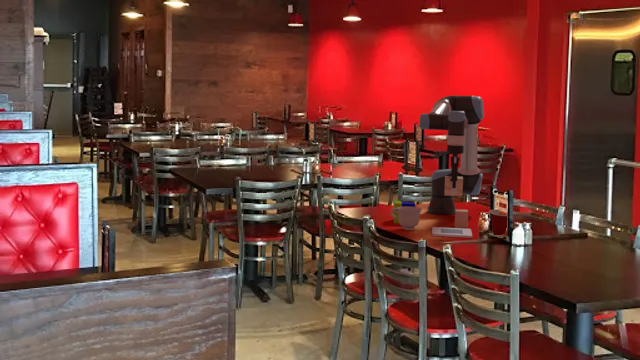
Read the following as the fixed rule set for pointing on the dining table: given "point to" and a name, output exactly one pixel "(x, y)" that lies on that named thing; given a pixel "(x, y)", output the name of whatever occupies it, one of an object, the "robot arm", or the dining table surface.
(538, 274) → the dining table surface
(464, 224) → the terracotta block
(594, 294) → the dining table surface
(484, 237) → the dining table surface
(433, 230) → the base
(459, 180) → the oak cube
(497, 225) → the plastic cup
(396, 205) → the puzzle toy
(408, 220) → the teacup
